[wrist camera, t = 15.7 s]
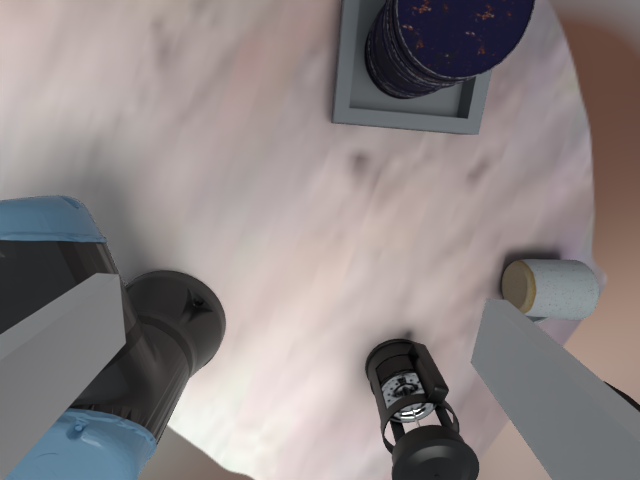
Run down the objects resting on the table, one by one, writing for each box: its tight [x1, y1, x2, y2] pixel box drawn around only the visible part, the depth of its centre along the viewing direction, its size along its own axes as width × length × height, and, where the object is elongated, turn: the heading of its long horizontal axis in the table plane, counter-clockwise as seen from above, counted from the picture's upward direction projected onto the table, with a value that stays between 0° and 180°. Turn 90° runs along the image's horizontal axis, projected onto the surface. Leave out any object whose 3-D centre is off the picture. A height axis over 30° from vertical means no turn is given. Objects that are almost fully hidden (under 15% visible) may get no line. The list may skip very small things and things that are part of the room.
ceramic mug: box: [502, 259, 599, 324], centre depth 44 cm, size 11×8×8 cm
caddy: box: [332, 0, 492, 134], centre depth 36 cm, size 16×16×4 cm
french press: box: [365, 339, 479, 480], centre depth 40 cm, size 12×9×23 cm
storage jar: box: [364, 0, 535, 99], centre depth 30 cm, size 10×10×15 cm
